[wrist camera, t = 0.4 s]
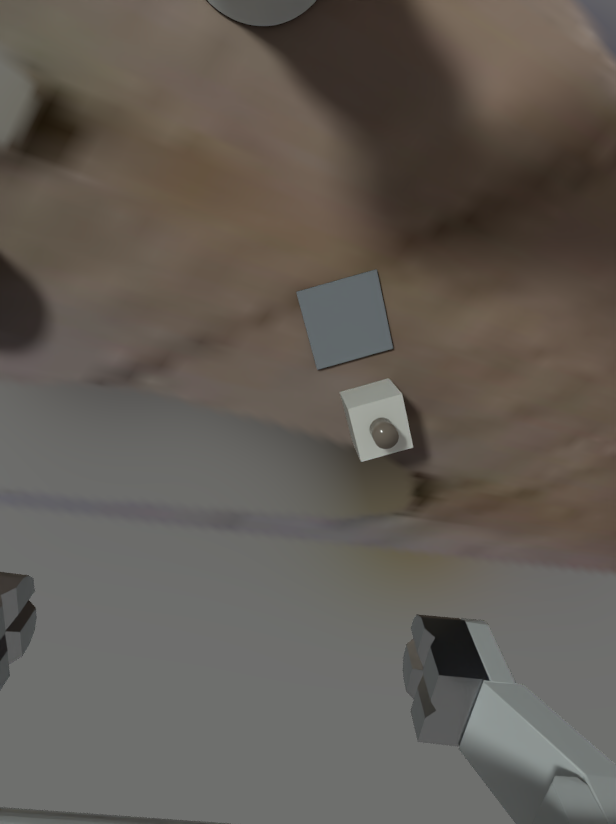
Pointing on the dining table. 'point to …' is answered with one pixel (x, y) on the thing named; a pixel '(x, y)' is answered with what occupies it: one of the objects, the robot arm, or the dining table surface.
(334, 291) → the felt mat
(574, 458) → the dining table surface
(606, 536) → the dining table surface
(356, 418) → the perfume bottle
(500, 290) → the dining table surface
